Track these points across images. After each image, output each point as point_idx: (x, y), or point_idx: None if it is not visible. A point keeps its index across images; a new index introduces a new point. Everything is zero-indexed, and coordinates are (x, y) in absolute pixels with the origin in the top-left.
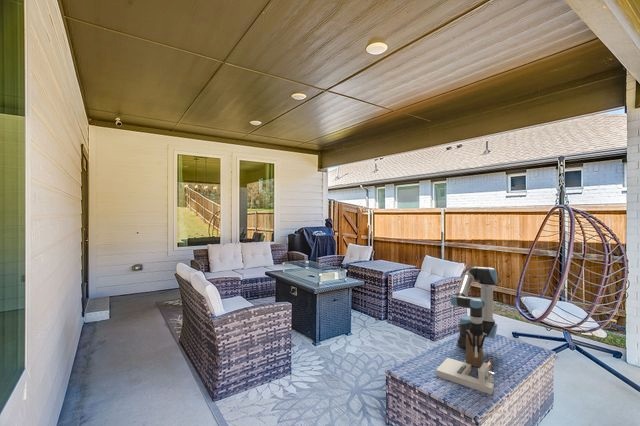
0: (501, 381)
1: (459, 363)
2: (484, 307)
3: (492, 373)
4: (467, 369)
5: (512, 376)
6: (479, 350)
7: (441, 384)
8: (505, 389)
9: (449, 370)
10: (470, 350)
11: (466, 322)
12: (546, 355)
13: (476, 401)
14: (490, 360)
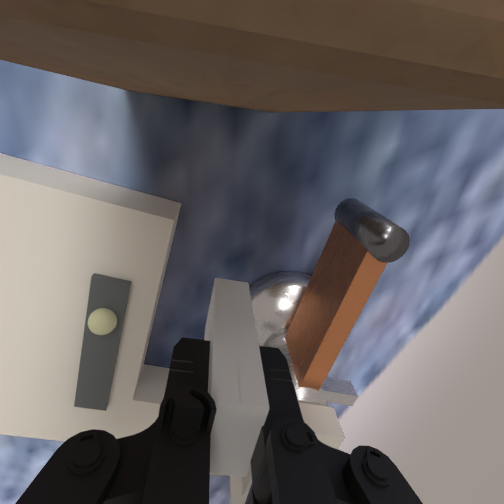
0: (384, 282)
1: (55, 241)
2: None
3: (342, 402)
4: (148, 324)
5: (497, 174)
6: (287, 383)
7: (23, 448)
8: (377, 360)
9: (11, 394)
10: (123, 82)
11: None
12: None
13: (215, 492)
14: (395, 242)
